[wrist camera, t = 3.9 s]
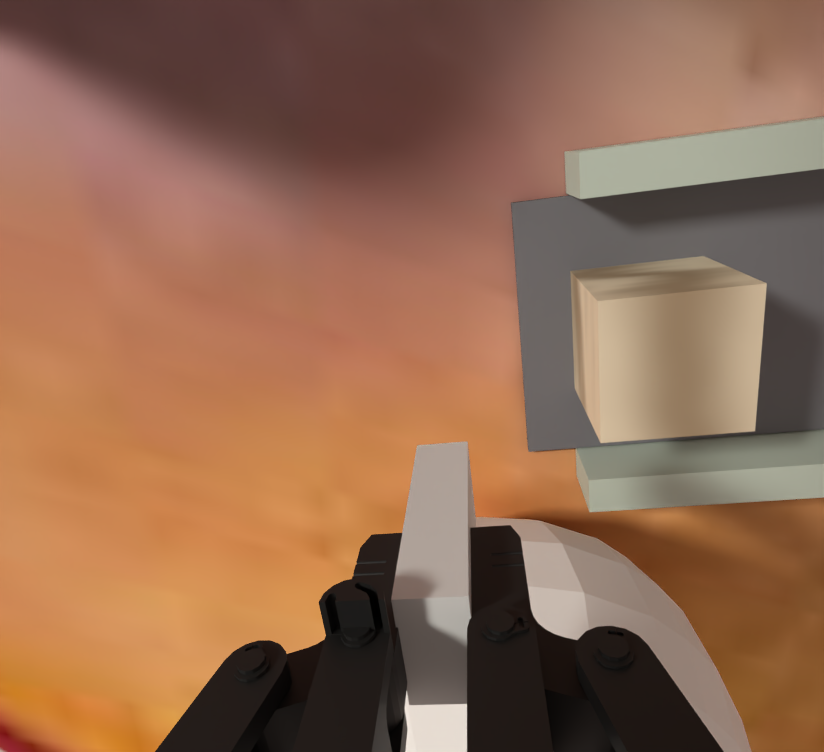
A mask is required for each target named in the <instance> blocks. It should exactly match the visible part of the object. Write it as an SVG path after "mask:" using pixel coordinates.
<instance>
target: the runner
mask: <svg viewBox="0 0 824 752" xmlns="http://www.w3.org/2000/svg"><path fill="white" fill-rule="evenodd" d="M511 209H512V223H513V238H514V252H515V267H516V281H517V296H518V310H519V325H520V339H521V354H522V368H523V383H524V397H525V412H526V426H527V440H528V450H529V452H531V451H544V450H557V449H570V448H583V447H596V446H609V445H622V444H635V443H648V442H661V441H674V440H687V439H700V438H714V437H727V436H740V435H753V434H766V433H779V432H792V431H805V430H818V429H824V169H816V170H808V171H800V172H792V173H784V174H776V175H768V176H761V177H753V178H745V179H737V180H729V181H721V182H713V183H705V184H697V185H689V186H681V187H673V188H666V189H658V190H650V191H642V192H634V193H626V194H618V195H610V196H602V197H594V198H586V199H579V198H576V197H574V196H571V195H568V196H560V197H552V198H544V199H537V200H529V201H521V202H513V203H511ZM700 256H705V257H707V258H709V259H712V260H714V261H716V262H719V263H721V264H723V265H726V266H728V267H730V268H733V269H735V270H737V271H739V272H742V273H744V274H746V275H749V276H751V277H753V278H756V279H758V280H760V281H763V282H765V283H767V288H766V301H765V313H764V325H763V338H762V350H761V363H760V375H759V388H758V400H757V413H756V425H755V431H752V432H739V433H726V434H713V435H700V436H687V437H674V438H661V439H648V440H635V441H622V442H609V443H600V441H599V439H598V436H597V434H596V432H595V430H594V428H593V426H592V424H591V422H590V420H589V418H588V415H587V413H586V411H585V409H584V407H583V405H582V403H581V401H580V399H579V396H578V394H577V392H576V390H575V384H574V357H573V329H572V302H571V275H570V271H575V270H584V269H593V268H602V267H611V266H619V265H628V264H637V263H646V262H655V261H664V260H673V259H682V258H691V257H700Z"/></svg>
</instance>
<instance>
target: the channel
mask: <svg viewBox="0 0 824 752" xmlns="http://www.w3.org/2000/svg"><path fill="white" fill-rule="evenodd" d="M816 169H824V116H823V117H815V118H808V119H801V120H793V121H786V122H779V123H771V124H764V125H757V126H749V127H742V128H735V129H727V130H720V131H713V132H705V133H698V134H691V135H683V136H676V137H669V138H661V139H654V140H647V141H639V142H632V143H625V144H617V145H610V146H603V147H595V148H588V149H581V150H573V151H566V152H565V178H566V194H569V195H571V196H574V197H576V198H579V199H586V198H594V197H602V196H610V195H618V194H626V193H634V192H642V191H650V190H658V189H666V188H673V187H681V186H689V185H697V184H705V183H713V182H721V181H729V180H737V179H745V178H753V177H761V176H768V175H776V174H784V173H792V172H800V171H808V170H816ZM576 471H577V478H578V481H579V484H580V486H581V489H582V492H583V495H584V498H585V501H586V503H587V506H588V509H589V512H602V511H618V510H634V509H649V508H665V507H681V506H697V505H712V504H728V503H744V502H760V501H776V500H791V499H807V498H823V497H824V429H818V430H805V431H792V432H779V433H766V434H753V435H740V436H727V437H714V438H700V439H687V440H674V441H661V442H648V443H635V444H622V445H609V446H596V447H583V448H576Z"/></svg>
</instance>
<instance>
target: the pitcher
mask: <svg viewBox="0 0 824 752" xmlns="http://www.w3.org/2000/svg"><path fill="white" fill-rule="evenodd" d="M504 525H511V526H512V528H513V529H514V530H515V531H516V532H517V534H518V535H519V536H520V537H521V543H522V550H523V557H524V564H525V571H526V578H527V585H528V591H529V598H530V605H531V610H532V613H533V616H534V618H535V619H536V621H537V622H538V623H539V624H540V625H541V626H542V627H543V628H545V629H546V630H548V631H550V632H552V633H553V634H556V635H559V636H562V637H565V638H570V639H574V640H578V639H579V638H580V637H581V636H582V635H583V634H584V633H585V631H588V630H590V629H593V628H595V627H598V626H615V627H620V628H625V629H627V630H629V631H631V632H633V633H635V634H637V635H639V636H640V637H641V638H642V639H643V640H644V641H645V642H646V643H647V644H648V645H649V647H650V648H651V650H652V651H653V652H654V654H655V655H656V657H657V658H658V659H659V661H660V662H661V664H662V665H663V667H664V668H665V669H666V671H667V672H668V674H669V675H670V676H671V678H672V679H673V681H674V682H675V683H676V685H677V686H678V688H679V689H680V690H681V692H682V693H683V695H684V696H685V698H686V699H687V700H688V702H689V703H690V705H691V706H692V707H693V709H694V710H695V712H696V713H697V714H698V716H699V717H700V719H701V720H702V722H703V723H704V724H705V726H706V727H707V729H708V730H709V731H710V733H711V734H712V736H713V737H714V738H715V740H716V741H717V743H718V744H719V746H720V747H721V748H722V750H723V751H724V752H752V751H751V748H750V745H749V742H748V738H747V735H746V732H745V728H744V725H743V722H742V719H741V717H740V715H739V713H738V711H737V709H736V707H735V705H734V703H733V701H732V699H731V697H730V695H729V693H728V691H727V689H726V686H725V684H724V682H723V680H722V678H721V676H720V674H719V672H718V670H717V668H716V666H715V665H714V663H713V661H712V660H711V658H710V656H709V655H708V653H707V651H706V649H705V648H704V646H703V644H702V643H701V641H700V639H699V637H698V636H697V634H696V632H695V631H694V629H693V627H692V625H691V624H690V622H689V620H688V619H687V617H686V615H685V613H684V612H683V610H682V609H681V608H680V607H679V606H678V605H677V604H676V603H675V602H674V601H673V600H672V599H671V598H670V597H669V596H668V595H667V594H666V593H665V592H664V591H663V590H662V589H661V588H660V587H659V586H658V585H657V584H656V583H655V582H654V581H653V580H651V579H650V578H649V577H648V576H647V575H646V574H645V573H644V572H642V571H641V570H640V569H639V568H638V567H637V566H636V565H635V564H633V563H632V562H631V561H630V560H629V559H628V558H627V557H625V556H624V555H622V554H621V553H619V552H618V551H616V550H615V549H613V548H611V547H610V546H608V545H607V544H605V543H604V542H602V541H601V540H599V539H597V538H594V537H591V536H588V535H584V534H581V533H578V532H575V531H572V530H568V529H565V528H562V527H559V526H556V525H553V524H549V523H546V522H543V521H539V520H532V519H514V518H495V517H476V527H487V526H504ZM405 715H406V721H407V729H408V730H407V740H406V750H405V752H467V704H442V705H409V700H408V694H407V691H406V700H405Z"/></svg>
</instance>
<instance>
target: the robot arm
mask: <svg viewBox="0 0 824 752" xmlns="http://www.w3.org/2000/svg"><path fill="white" fill-rule="evenodd" d="M319 606H320V610H321V615H322V619H323V624H324V628H325V633H326V637H325V640H323V641H321V642H320V643H318V644H316V645H314V646H311V647H309V648H306V649H303V650H299V651H296V652H293V653H289V654H286V651H285V650H284V649H283V647H282V646H281V645H280V644H278V643H275V642H273V641H256V642H252V643H249V644H246V645H244V646H242V647H241V648H239V649H237V650H235V651H234V652H233V653H232V654H231V655H230V656H229V657H228V658H227V659H226V660H225V661H224V662H223V663H222V665H221V666H220V667H219V668H218V670H217V671H216V672H215V674H214V675H213V676H212V678H211V679H210V680H209V682H208V683H207V684H206V686H205V687H204V688H203V689H202V691H201V692H200V693H199V695H198V696H197V697H196V699H195V700H194V701H193V703H192V704H191V705H190V707H189V708H188V709H187V710H186V712H185V713H184V714H183V716H182V717H181V718H180V720H179V721H178V722H177V724H176V725H175V726H174V728H173V729H172V730H171V731H170V733H169V734H168V735H167V737H166V738H165V739H164V741H163V742H162V743H161V745H160V746H159V747H158V749H157V750H156V751H155V752H405V750H406V740H407V730H408V729H407V721H406V715H405V700H406V691H407V694H408V700H409V705H442V704H467V752H724V751H723V750H722V748H721V747H720V746H719V744H718V743H717V741H716V740H715V738H714V737H713V736H712V734H711V733H710V731H709V730H708V729H707V727H706V726H705V724H704V723H703V722H702V720H701V719H700V717H699V716H698V714H697V713H696V712H695V710H694V709H693V707H692V706H691V705H690V703H689V702H688V700H687V699H686V698H685V696H684V695H683V693H682V692H681V690H680V689H679V688H678V686H677V685H676V683H675V682H674V681H673V679H672V678H671V676H670V675H669V674H668V672H667V671H666V669H665V668H664V667H663V665H662V664H661V662H660V661H659V659H658V658H657V657H656V655H655V654H654V652H653V651H652V650H651V648H650V647H649V645H648V644H647V643H646V642H645V641H644V640H643V639H642V638H641V637H640V636H639V635H637V634H635V633H633V632H631V631H629V630H627V629H625V628H620V627H615V626H598V627H595V628H593V629H590V630H588V631H585V633H584V634H583V635H582V636H581V637H580V638H579V639H578V640H574V639H570V638H565V637H562V636H559V635H556V634H553V633H552V632H550V631H548V630H546V629H545V628H543V627H542V626H541V625H540V624H539V623H538V622H537V621H536V619H535V618H534V616H533V613H532V610H531V605H530V598H529V591H528V585H527V578H526V571H525V564H524V557H523V550H522V543H521V537H520V536H519V535H518V534H517V532H516V531H515V530H514V529H513V528H512V526H511V525H504V526H487V527H476V516H475V507H474V497H473V488H472V479H471V470H470V460H469V451H468V442H454V443H442V444H429V445H417V450H416V456H415V462H414V467H413V473H412V479H411V485H410V491H409V497H408V503H407V509H406V515H405V521H404V526H403V532H402V533H393V534H376V535H371V536H370V537H369V539H368V540H367V541H366V542H365V543H364V544H363V545H362V547H361V548H360V551H359V555H358V559H357V565H356V566H355V570H354V576H353V577H352V579H351V580H345V581H343V582H340V583H338V584H336V585H334V586H332V587H331V588H330V589H329V590H327V591H326V592H325V593H324V594H323V596H322V598H321V599H320V601H319Z"/></svg>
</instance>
